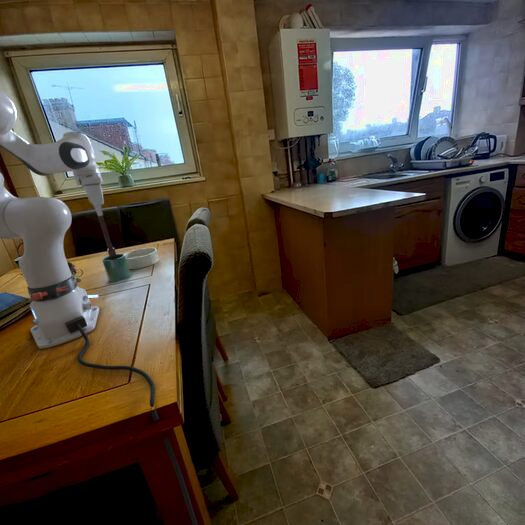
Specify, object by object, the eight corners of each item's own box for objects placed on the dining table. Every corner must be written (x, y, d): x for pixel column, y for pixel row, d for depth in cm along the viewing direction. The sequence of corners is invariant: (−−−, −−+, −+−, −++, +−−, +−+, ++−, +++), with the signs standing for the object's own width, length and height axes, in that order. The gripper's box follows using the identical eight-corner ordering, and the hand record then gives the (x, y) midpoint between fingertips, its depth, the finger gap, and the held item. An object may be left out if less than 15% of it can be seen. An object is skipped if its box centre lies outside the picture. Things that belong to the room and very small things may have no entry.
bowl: (163, 263, 134) (160, 251, 132) (128, 273, 126) (124, 261, 124) (154, 256, 147) (151, 245, 145) (122, 265, 138) (118, 253, 136)
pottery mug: (83, 272, 136) (78, 260, 130) (74, 287, 130) (67, 276, 124) (58, 268, 136) (51, 257, 129) (47, 284, 129) (39, 272, 123)
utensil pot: (132, 278, 119) (126, 256, 116) (110, 284, 115) (103, 262, 112) (128, 273, 126) (122, 252, 123) (108, 279, 122) (101, 257, 118)
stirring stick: (117, 257, 117) (101, 205, 109) (110, 259, 115) (93, 206, 108) (116, 256, 119) (100, 204, 111) (109, 258, 118) (93, 205, 110)
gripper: (78, 180, 113) (89, 214, 118) (80, 180, 97) (93, 219, 101) (95, 178, 116) (105, 211, 121) (101, 178, 100) (112, 216, 105)
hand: (100, 215), depth 111 cm, fingers closed on stirring stick, 2 cm apart
